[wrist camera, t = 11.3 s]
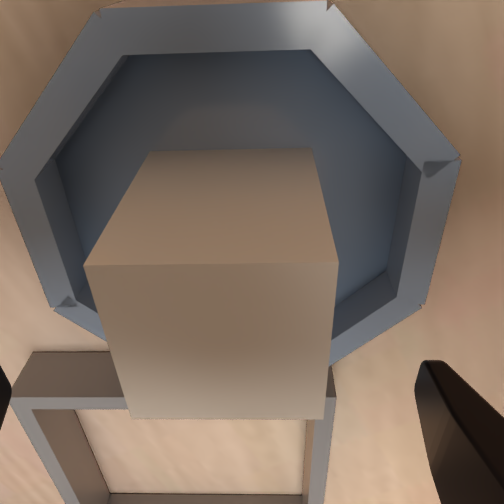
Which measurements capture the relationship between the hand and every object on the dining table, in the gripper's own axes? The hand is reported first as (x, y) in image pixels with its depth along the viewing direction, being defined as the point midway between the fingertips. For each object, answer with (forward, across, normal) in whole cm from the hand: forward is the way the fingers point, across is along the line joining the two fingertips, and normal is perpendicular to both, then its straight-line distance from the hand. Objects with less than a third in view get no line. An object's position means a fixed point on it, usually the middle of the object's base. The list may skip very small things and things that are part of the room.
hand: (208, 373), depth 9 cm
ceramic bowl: (+8, 0, 0) cm, 8 cm away
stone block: (+7, 0, 0) cm, 7 cm away
